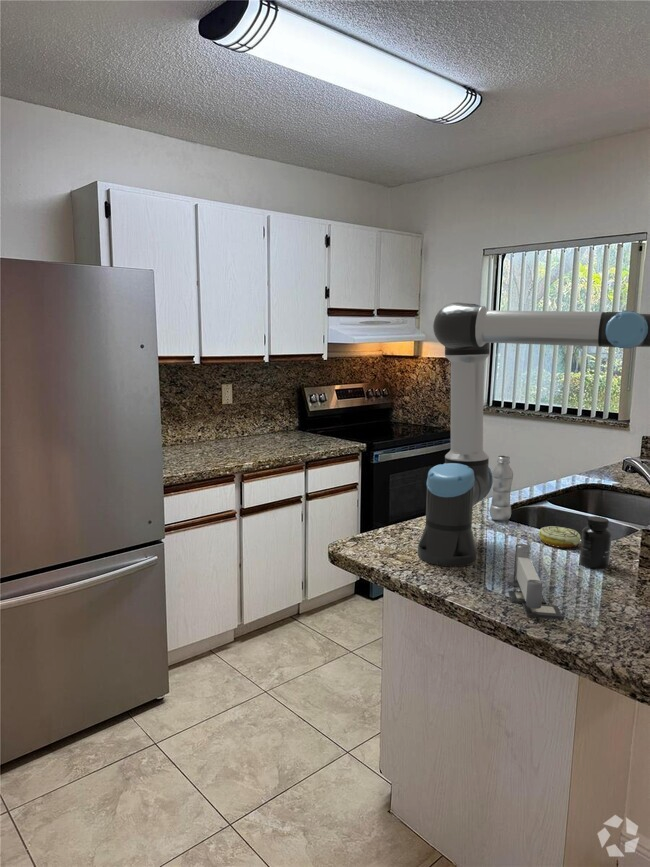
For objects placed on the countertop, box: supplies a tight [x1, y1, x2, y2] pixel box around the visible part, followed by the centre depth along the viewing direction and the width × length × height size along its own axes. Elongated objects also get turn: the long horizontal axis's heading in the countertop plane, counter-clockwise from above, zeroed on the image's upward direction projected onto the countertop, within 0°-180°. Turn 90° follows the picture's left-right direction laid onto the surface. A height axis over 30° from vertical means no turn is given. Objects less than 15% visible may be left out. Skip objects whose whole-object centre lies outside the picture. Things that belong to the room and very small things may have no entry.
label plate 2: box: [522, 603, 564, 620], centre depth 126 cm, size 7×5×1 cm
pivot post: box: [506, 543, 530, 588], centre depth 140 cm, size 5×5×9 cm
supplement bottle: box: [579, 515, 613, 570], centre depth 151 cm, size 7×7×12 cm
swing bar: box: [516, 557, 544, 609], centre depth 130 cm, size 16×3×5 cm, turn 171°
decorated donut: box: [538, 525, 582, 548], centre depth 168 cm, size 10×11×4 cm
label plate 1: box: [508, 590, 547, 605], centre depth 132 cm, size 7×5×1 cm
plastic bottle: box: [489, 455, 514, 522], centre depth 186 cm, size 6×7×20 cm
